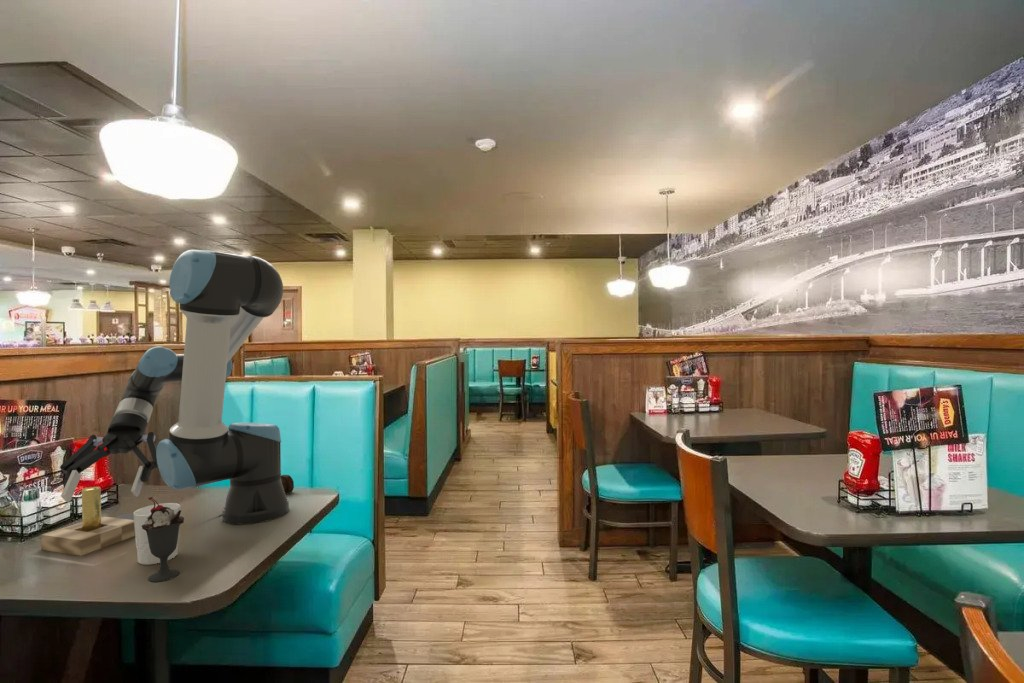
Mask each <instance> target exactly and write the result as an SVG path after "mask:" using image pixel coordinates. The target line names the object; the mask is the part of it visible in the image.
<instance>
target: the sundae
mask: <svg viewBox="0 0 1024 683" xmlns="http://www.w3.org/2000/svg"><path fill="white" fill-rule="evenodd" d="M148 500H150V501H152V502H153V505H154V508H152V509H151V510H150V512H151V515H149V516H148V517H147V520H146V521H145V524H144V525H142V526H141V527H142V529H144V530H146V532H147V537H148V542H149V548H150V551H151V554H153V555H154V556H155V557H158V558H159V559H160V563H159V569H158V571H157V572H155V573H152V574H150V575H149V576H148V578H147V581H148V582H151V583H158V582H159V583H160V582H164V581H169V580H171V578H172V579H173V578H176V577H178V576H179V574H180V570H179V569H173V568H171V569H170V568H169V565H168V564H169V562H168V561H169V560H168V557H169V556H170V555H171V554H172V553H173V552H174V550H175V549H176V546H177V541H178V533H179V534H180V528H179V527H180V526H181V524H183V523H184V521H185V517H184V516H181V513H182V510H181V509H180V510H179V511H178V512H177V513H176V514H174V510H172V509H171V508H169V507H163V506H162V505H159V504H160V503H158V502H157V500H155V499H154V498H153V497H152V496H151V497H148ZM155 504H157V505H158V506H157V507H156V508H155ZM178 542H179V541H178ZM175 576H176V577H175Z"/></svg>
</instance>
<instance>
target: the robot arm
mask: <svg viewBox="0 0 1024 683" xmlns="http://www.w3.org/2000/svg"><path fill="white" fill-rule="evenodd" d="M168 286H169V287H168V288H169V289H170V291H169V294H170V297H171V299H172V300H173V302H176V303H178V304H179V311H180V312H181V313H182V314H183V316H185V317H186V325H185V336H184V348H183V350H184V351H183V353H181V354H180V353H177V354H176V352H174V351H173V350H172V349H171V348H166V347H164V346H154V347H151V348H149V349H147V350H146V351H145V353H144V354H143V355H142V356H141V358H140V359H139V361H138V363H137V366H136V368H135V370H134V371H133V372H132V373H131V375H130V377H129V379H127V384H126V386H125V387H124V388H125V389H124V392H123V394H122V396H121V398H120V401H119V402H118V405H117V408H116V410H115V412H114V414H113V417H112V419H111V421H110V424H109V426H108V429H107V432H106V434H105V435H104V436H96V434H91V435H90V436H88V439H87V441H86V442H85V443H84V444H83V445H82V446H81V447H80V448H78V449H77V450H76V451H75V452H74V453H73V454H72V455H71V456H70V457H68V459H66V460H65V461H64V462H63V463H62V464H60V466H59V468H60V470H61V471H62V472H63V473H64V474H65V477H64V480H63V482H62V485H64V488H63V490H62V492H61V494H60V497H61V498H62V499H63V501H65V502H66V503H69V502H71V500H72V499H73V498H72V497H73V496H74V493H75V491H76V489H77V487H78V484H79V482H80V480H81V478H82V475H81V473H82V472H83V471H85V470H86V469H88V468H90V467H91V466H92V465H94V464H95V463H97V462H99V461H100V460H101V459H103V458H104V457H105V458H107V457H108V456H109V455H111V454H112V455H117V454H128V453H129V452H132V453H133V454H134V455H135V456H136V458H137V459H138V460H139V462H140V463H141V465H139V467H138V469H137V473H136V475H135V478H134V481H133V484H132V487H131V489H130V492H131V493H132V495H133V496H134V497H135V498H136V497H139V496H140V493H141V491H142V488H143V484H144V483H146V482H148V481H149V480H150V476H151V473H152V471H153V470H154V469H158V470H159V474H160V477H161V478H162V480H163V482H164V484H166V485H167V486H168V487H169V488H170V489H171V490H175V491H179V490H186V489H195V488H197V487H200V486H205V485H209V484H210V485H211V484H214V483H219V482H222V481H226V480H229V488H228V492H227V496H226V499H225V503H224V504H225V505H224V506H223V508H222V512H221V513H222V521H223V522H224V523H226V524H232V525H246V524H247V525H248V524H250V525H251V524H256V523H262V522H268V521H271V520H275V519H277V518H280V517H282V516H284V515H286V514H287V513H288V512H289V511H290V501H289V499H288V497H287V495H286V493H285V491H284V488H283V485H282V482H281V475H282V465H281V464H282V459H281V458H282V456H281V454H282V452H281V449H282V448H281V447H282V446H281V443H282V439H281V438H282V437H281V430H280V427H279V426H278V425H276V424H272V423H264V422H232V423H230V424H229V425H226V424H225V423H224V422H223V412H224V403H225V402H224V401H225V400H224V399H225V392H226V391H225V390H226V382H227V381H226V380H227V378H228V377H229V376H230V375H231V373H232V370H233V360H232V358H233V357H234V355H235V354H236V353H237V352H238V350H239V349H240V348H241V346H243V344H244V343H245V341H246V340H247V339H248V338H249V337H250V336H251V335H252V333H253V332H254V330H255V329H256V328H257V327H258V326H259V325H260V323H261V322H262V321H263V319H264V318H269V317H270V316H272V315H273V313H274V312H275V311H276V310H277V309H278V307H279V306H280V304H281V302H282V299H283V296H284V284H283V279H282V277H281V275H280V274H279V272H278V270H277V269H276V267H275V266H274V265H273V264H271V262H268V261H267V260H265V259H262V258H261V257H259V256H253V255H241V254H235V253H229V252H228V253H226V252H221V251H215V250H214V251H213V250H210V249H209V250H203V249H202V250H201V249H189V250H185V251H184V252H182V253H181V254H180V255H179V256H178V258H177V259H176V260H175V262H174V263H173V266H172V269H171V271H170V276H169V284H168ZM168 383H169V384H170V383H173V384H174V383H181V386H180V397H179V398H180V399H179V408H178V410H179V411H178V421H177V422H176V423H175V424H173V425H172V426H171V427H170V428H169V433H168V434H169V436H168V438H164V439H162V440H160V441H159V442H158V443H157V436H156V435H155V434H154V431H149V432H148V433H147V434H145V433H146V429H147V427H148V423H149V422H150V419H151V416H152V414H153V410H154V407H155V405H156V402H157V400H158V398H159V395H160V394H161V392H162V390H163V388H164V387H165V385H166V384H168ZM143 441H144V442H145V444H147V445H148V449H149V453H150V456H151V458H152V461H150V460H149V458H147V457H146V455H145V454H144V453H143V451H141V449H140V448H139V447H138V446H139V445H140V444H142V443H143ZM156 443H157V444H156ZM105 449H106V450H105Z"/></svg>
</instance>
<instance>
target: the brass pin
mask: <svg viewBox="0 0 1024 683" xmlns="http://www.w3.org/2000/svg"><path fill="white" fill-rule="evenodd" d="M101 490H102V489H101V487H100V486H90V487H86V488H82V489H81V510H82V511H81V517H82V521H81V522H82V524H83V531H84V532H89V531H92V530H95V529H98V528H101V516H102V502H101V501H102V499H101V495H102V494H101V492H102V491H101Z"/></svg>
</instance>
